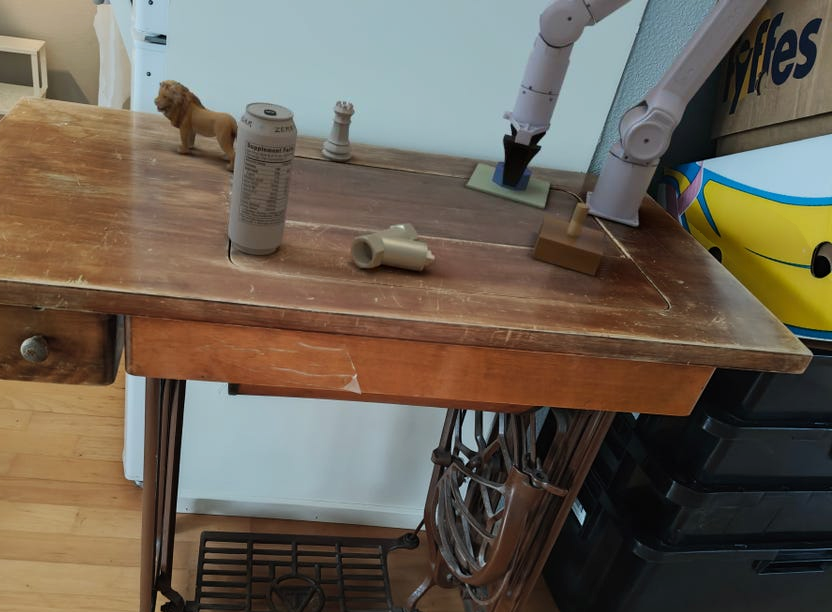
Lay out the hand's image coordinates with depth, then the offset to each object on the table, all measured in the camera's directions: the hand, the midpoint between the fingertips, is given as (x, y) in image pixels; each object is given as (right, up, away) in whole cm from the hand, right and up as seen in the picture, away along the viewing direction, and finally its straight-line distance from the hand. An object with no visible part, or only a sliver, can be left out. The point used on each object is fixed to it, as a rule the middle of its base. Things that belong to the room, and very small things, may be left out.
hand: (511, 178), depth 113 cm
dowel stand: (+3, -15, -18) cm, 23 cm away
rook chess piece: (-27, +2, -3) cm, 28 cm away
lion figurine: (-46, 0, -13) cm, 48 cm away
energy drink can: (-36, -16, -31) cm, 50 cm away
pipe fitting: (-20, -18, -30) cm, 40 cm away
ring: (0, -1, +1) cm, 1 cm away
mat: (0, -1, +1) cm, 1 cm away
